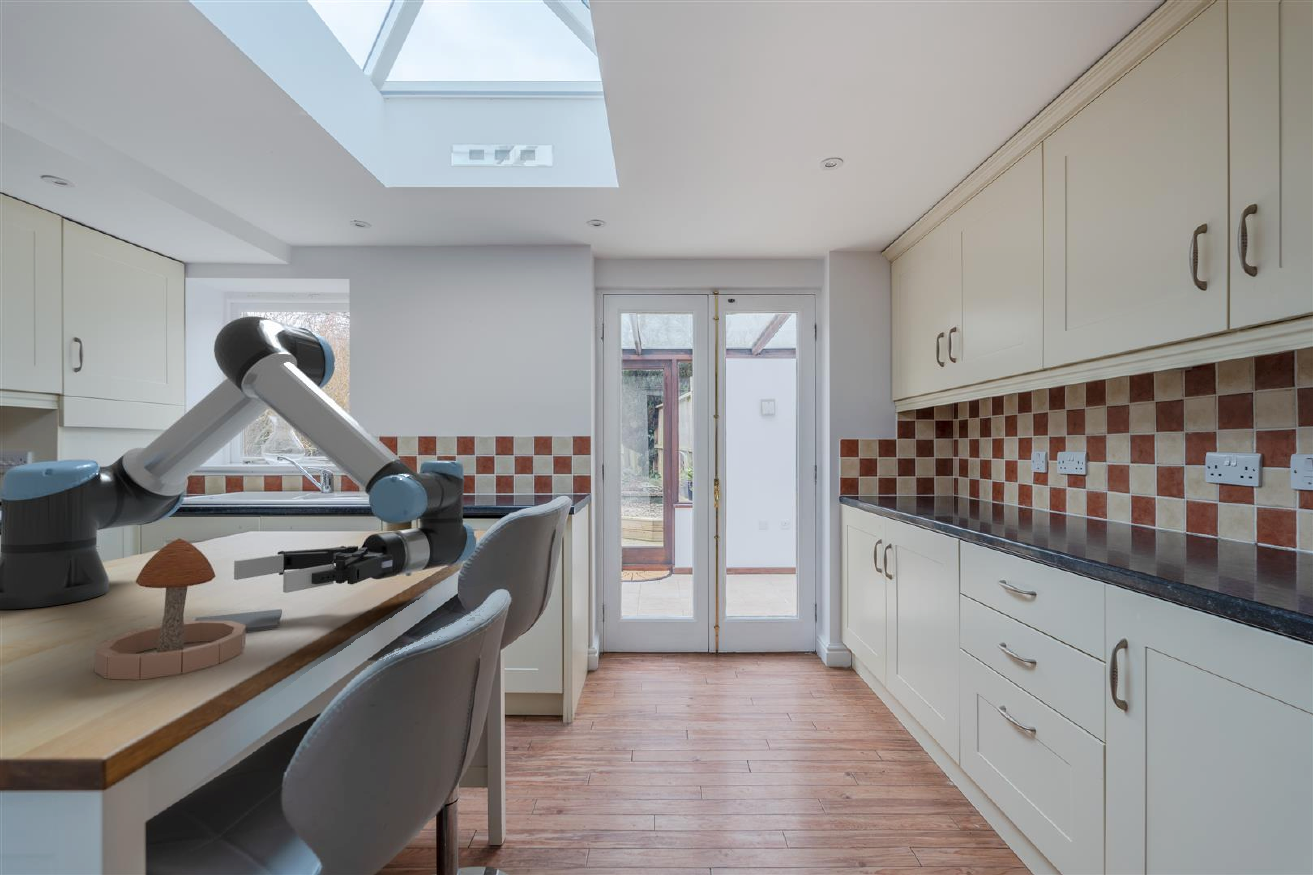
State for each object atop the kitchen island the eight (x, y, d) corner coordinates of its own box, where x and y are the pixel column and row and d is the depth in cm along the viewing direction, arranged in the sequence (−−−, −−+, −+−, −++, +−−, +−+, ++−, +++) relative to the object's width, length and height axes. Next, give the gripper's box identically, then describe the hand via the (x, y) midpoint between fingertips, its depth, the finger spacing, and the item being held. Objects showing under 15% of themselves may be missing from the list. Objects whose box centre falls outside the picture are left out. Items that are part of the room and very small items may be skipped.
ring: (118, 648, 79) (118, 629, 79) (249, 632, 86) (250, 615, 86) (78, 687, 66) (78, 665, 67) (236, 666, 73) (236, 645, 73)
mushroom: (224, 654, 77) (227, 537, 77) (146, 673, 71) (149, 545, 71) (199, 642, 82) (202, 531, 82) (124, 659, 75) (126, 539, 75)
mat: (196, 621, 91) (196, 617, 91) (281, 612, 96) (282, 609, 96) (183, 639, 83) (183, 634, 83) (277, 628, 88) (277, 624, 88)
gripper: (442, 585, 96) (307, 617, 78) (350, 567, 109) (216, 590, 91) (443, 538, 96) (308, 559, 78) (351, 525, 109) (217, 540, 91)
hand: (258, 576), depth 84 cm, fingers open, 13 cm apart
